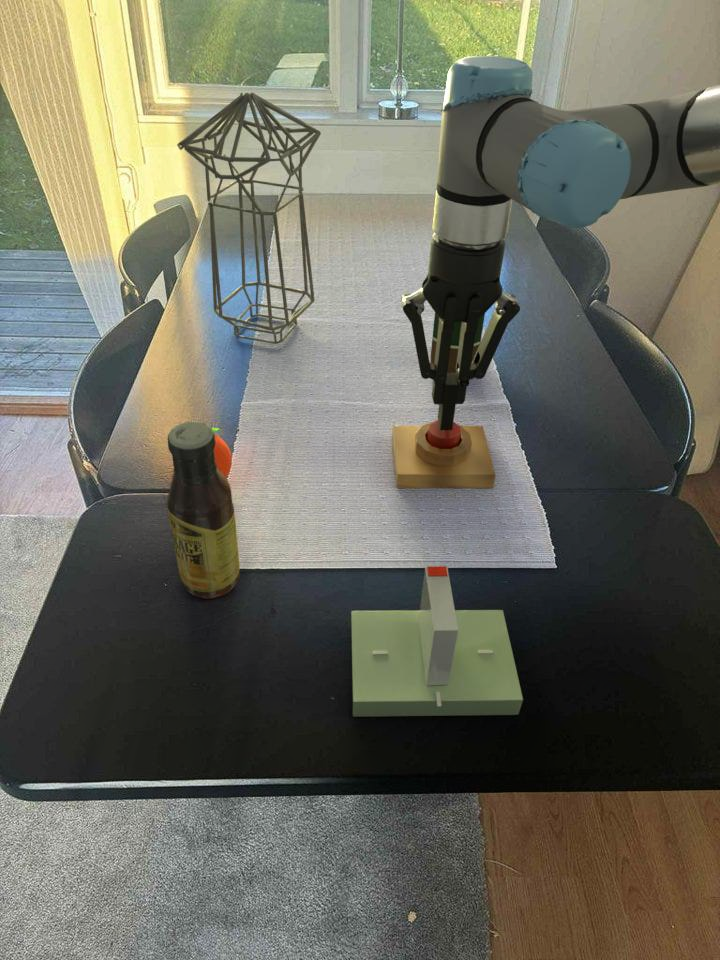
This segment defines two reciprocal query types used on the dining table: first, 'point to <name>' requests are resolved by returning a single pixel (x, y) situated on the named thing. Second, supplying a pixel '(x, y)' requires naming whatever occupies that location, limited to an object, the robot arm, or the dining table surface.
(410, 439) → the button block
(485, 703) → the plate
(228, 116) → the geometric lantern
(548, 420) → the dining table surface
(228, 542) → the sauce bottle
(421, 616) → the grey upright flat block
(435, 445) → the button
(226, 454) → the clementine
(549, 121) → the robot arm
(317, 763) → the dining table surface
